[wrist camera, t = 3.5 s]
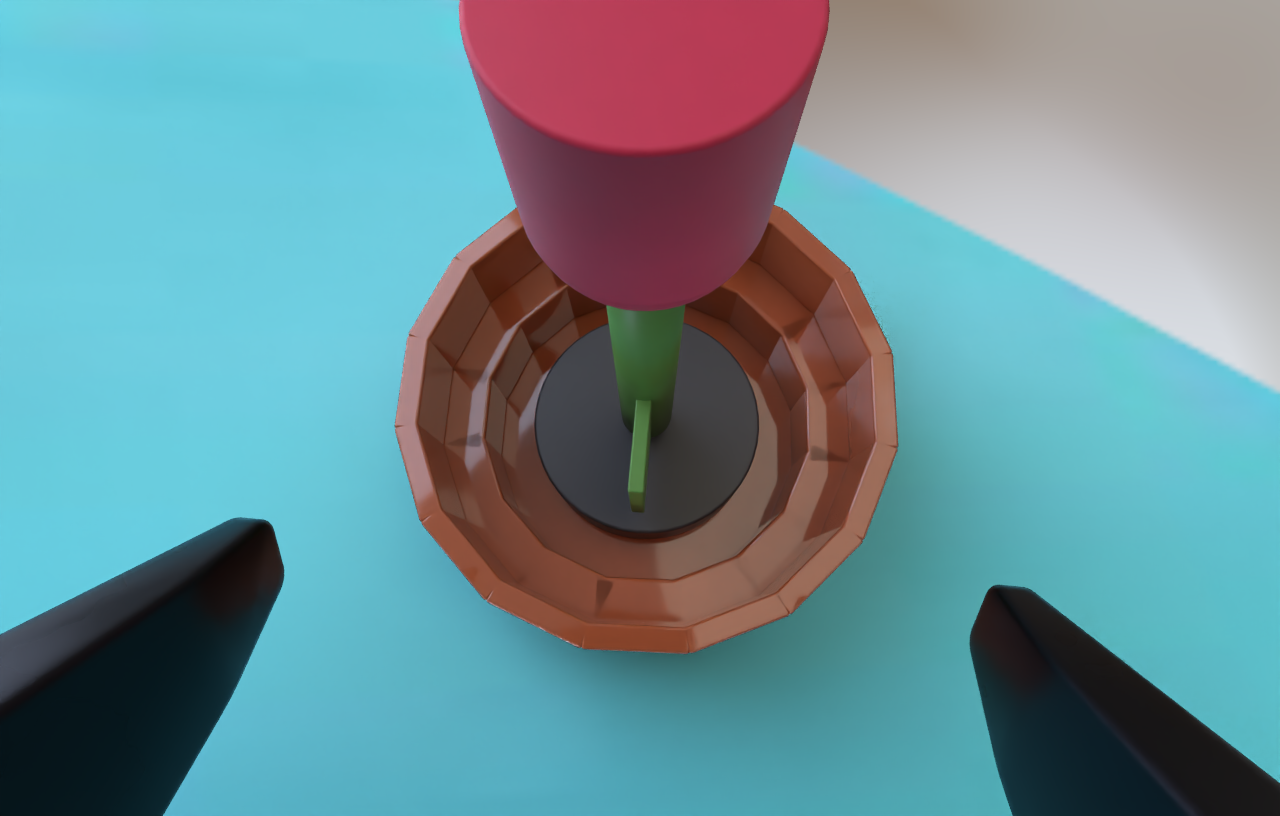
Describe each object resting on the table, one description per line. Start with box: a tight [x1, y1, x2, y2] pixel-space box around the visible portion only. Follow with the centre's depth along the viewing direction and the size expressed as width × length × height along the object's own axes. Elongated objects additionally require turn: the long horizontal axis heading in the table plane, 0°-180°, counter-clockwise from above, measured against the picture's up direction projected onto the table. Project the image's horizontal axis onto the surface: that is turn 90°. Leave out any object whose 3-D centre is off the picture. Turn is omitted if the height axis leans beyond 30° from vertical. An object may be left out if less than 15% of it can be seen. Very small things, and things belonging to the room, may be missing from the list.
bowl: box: [395, 205, 898, 654], centre depth 17 cm, size 11×11×4 cm
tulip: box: [459, 0, 830, 539], centre depth 12 cm, size 6×6×14 cm
